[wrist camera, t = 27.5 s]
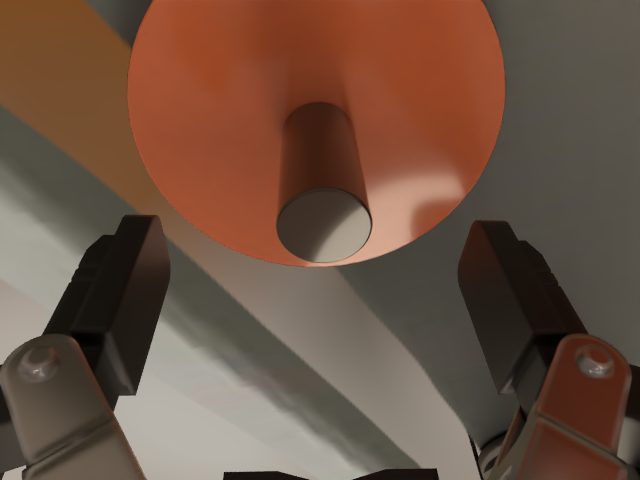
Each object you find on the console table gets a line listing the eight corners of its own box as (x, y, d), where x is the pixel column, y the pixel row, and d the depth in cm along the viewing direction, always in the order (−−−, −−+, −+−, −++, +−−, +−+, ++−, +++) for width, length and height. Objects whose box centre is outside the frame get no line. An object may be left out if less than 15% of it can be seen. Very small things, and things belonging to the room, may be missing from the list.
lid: (502, 207, 20) (568, 322, 15) (231, 276, 22) (212, 396, 17) (479, -175, 12) (607, -193, 7) (52, -4, 14) (-80, 74, 9)
